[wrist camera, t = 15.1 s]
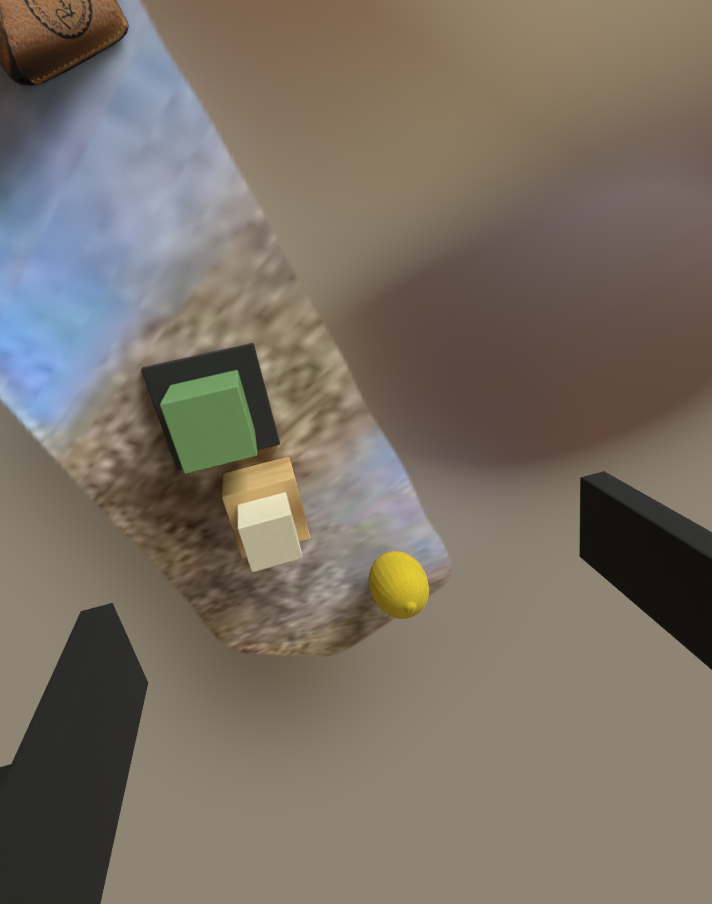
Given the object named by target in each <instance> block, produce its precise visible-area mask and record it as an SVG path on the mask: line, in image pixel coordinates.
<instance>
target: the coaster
mask: <svg viewBox="0 0 712 904" xmlns="http://www.w3.org/2000/svg"><path fill="white" fill-rule="evenodd" d="M141 370H142V373H143V376H144V379H145V381H146V384H147V387H148V390H149V393H150V395H151V398H152V401H153V404H154V406H155V409H156V412H157V415H158V417H159V420H160V423H161V426H162V429H163V431H164V434H165V437H166V440H167V442H168V445H169V448H170V451H171V453H172V456H173V459H174V462H175V465H176V467H177V470H181V469H182V466H181V463H180V460H179V457H178V455H177V452H176V449H175V446H174V443H173V441H172V438H171V435H170V432H169V429H168V427H167V424H166V421H165V418H164V415H163V412H162V410H161V407H160V404H161V402H162V400H163V398H164V396H165V394H166V392H167V391H168V389H169V387H170V385H173V384H178V383H182V382H187V381H191V380H195V379H200V378H204V377H208V376H213V375H217V374H221V373H226V372H230V371H234V370H238V373H239V376H240V380H241V383H242V387H243V390H244V394H245V397H246V401H247V405H248V408H249V412H250V415H251V419H252V422H253V426H254V429H255V436H256V445H257V450H260V449H264V448H268V447H272V446H276V445H279V444H280V441H279V438H278V434H277V430H276V426H275V423H274V419H273V415H272V411H271V407H270V404H269V400H268V396H267V392H266V388H265V385H264V381H263V377H262V373H261V370H260V366H259V362H258V358H257V354H256V351H255V347H254V343H250V344H246V345H241V346H237V347H232V348H228V349H224V350H219V351H215V352H210V353H206V354H201V355H197V356H192V357H188V358H183V359H179V360H174V361H170V362H165V363H161V364H156V365H152V366H147V367H143V368H142V369H141Z"/></svg>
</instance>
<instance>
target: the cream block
mask: <svg viewBox="0 0 712 904" xmlns="http://www.w3.org/2000/svg"><path fill="white" fill-rule="evenodd" d="M238 531H239V534H240V537H241V540H242V544H243V547H244V550H245V553H246V556H247V559H248V562H249V565H250V568H251V571H252V572H256V571H259V570H263V569H266V568H270V567H273V566H277V565H280V564H284V563H287V562H291V561H294V560H297V559H301V558H302V553H301V549H300V544H299V540H298V535H297V531H296V527H295V524H294V520H293V516H292V512H291V509H290V505H289V501H288V498H287V494H286V492H284V493H280V494H277V495H273V496H269V497H265V498H262V499H258V500H254V501H251V502H247V503H243V504H239V505H238Z"/></svg>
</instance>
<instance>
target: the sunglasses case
mask: <svg viewBox="0 0 712 904" xmlns="http://www.w3.org/2000/svg"><path fill="white" fill-rule="evenodd" d="M128 27H129V26H128V22H127V20H126V18H125V16H124V14H123V12H122V10H121V8H120V6H119V5H118V3H117V1H116V0H0V63H1V65H2V66H3V67H4V69H5V71H6V72H7V74H8V76H9V77H10V78H11V79H12V80H14V81H15V82H16V83H19V84H21V85H39V84H42V83H45V82H46V81H48V80H50V79H52V78H54V77H56V76H58V75H60V74H62V73H64V72H66V71H68V70H70V69H72V68H74V67H75V66H77V65H79V64H81V63H82V62H84V61H86V60H88V59H90V58H91V57H93V56H95V55H96V54H98V53H100V52H101V51H103V50H104V49H106V48H108V47H110V46H112V45H113V44H115V43H117V42H118V41H120V40H121V39H122V38H123V37H124V36H125V35H126V33H127V31H128Z"/></svg>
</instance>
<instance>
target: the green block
mask: <svg viewBox="0 0 712 904" xmlns="http://www.w3.org/2000/svg"><path fill="white" fill-rule="evenodd" d="M160 407H161V410H162V412H163V415H164V418H165V421H166V424H167V427H168V429H169V432H170V435H171V438H172V441H173V443H174V446H175V449H176V452H177V455H178V457H179V460H180V463H181V466H182V469H183V471H184V474H187V473H191V472H195V471H199V470H203V469H207V468H211V467H215V466H219V465H222V464H226V463H230V462H234V461H238V460H242V459H246V458H250V457H254V456H257V445H256V436H255V429H254V426H253V422H252V419H251V415H250V412H249V408H248V405H247V401H246V397H245V394H244V390H243V387H242V383H241V380H240V376H239V373H238V370H234V371H230V372H226V373H221V374H217V375H213V376H208V377H204V378H200V379H195V380H191V381H187V382H182V383H178V384H173V385H170V387H169V389H168V391H167V392H166V394H165V396H164V398H163V400H162V402H161V404H160Z"/></svg>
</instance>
